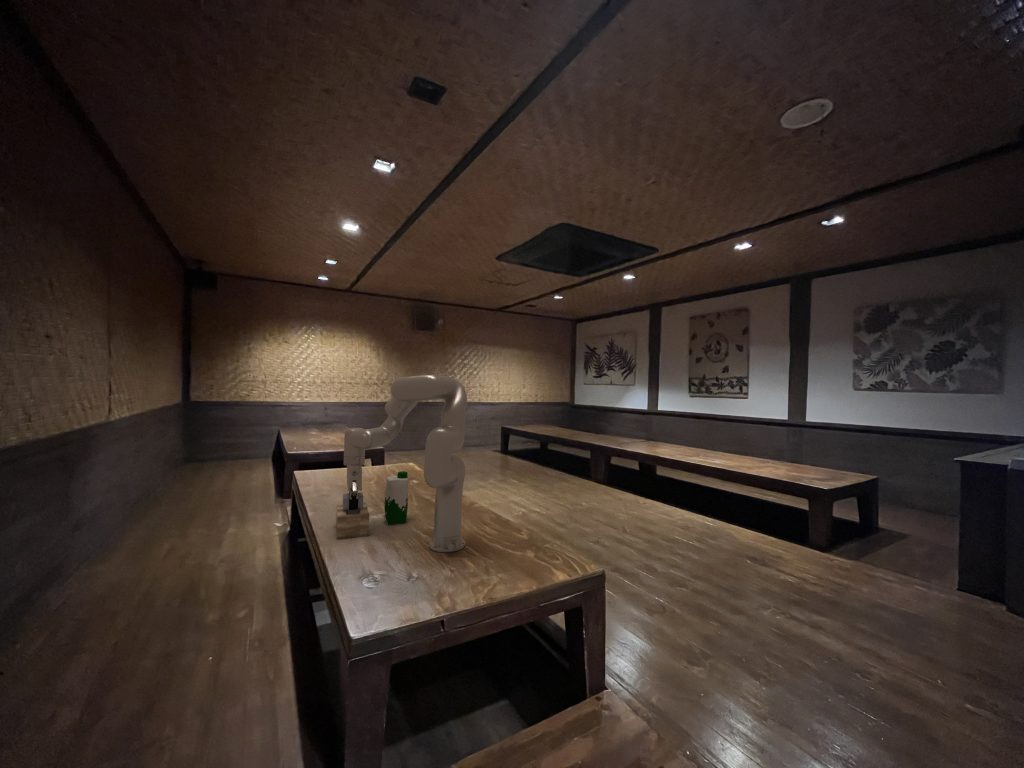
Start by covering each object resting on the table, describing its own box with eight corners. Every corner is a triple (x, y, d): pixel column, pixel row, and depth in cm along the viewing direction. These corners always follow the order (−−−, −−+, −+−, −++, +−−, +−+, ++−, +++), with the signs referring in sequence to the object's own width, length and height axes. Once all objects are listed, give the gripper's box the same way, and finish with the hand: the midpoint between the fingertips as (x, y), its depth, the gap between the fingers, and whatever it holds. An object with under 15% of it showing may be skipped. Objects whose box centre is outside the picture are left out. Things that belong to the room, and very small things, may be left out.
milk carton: (408, 523, 160) (410, 474, 161) (385, 526, 157) (387, 475, 157) (404, 516, 168) (406, 469, 169) (382, 519, 164) (384, 471, 165)
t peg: (362, 523, 149) (363, 496, 149) (342, 525, 146) (343, 498, 146) (361, 517, 155) (362, 492, 156) (342, 519, 152) (342, 493, 153)
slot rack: (368, 535, 146) (369, 514, 146) (336, 539, 141) (337, 517, 141) (365, 522, 160) (365, 502, 160) (336, 525, 156) (336, 504, 156)
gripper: (366, 463, 145) (365, 512, 145) (363, 456, 161) (361, 499, 160) (344, 464, 142) (342, 514, 141) (343, 456, 157) (341, 501, 157)
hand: (352, 506), depth 151 cm, fingers closed on t peg, 7 cm apart
